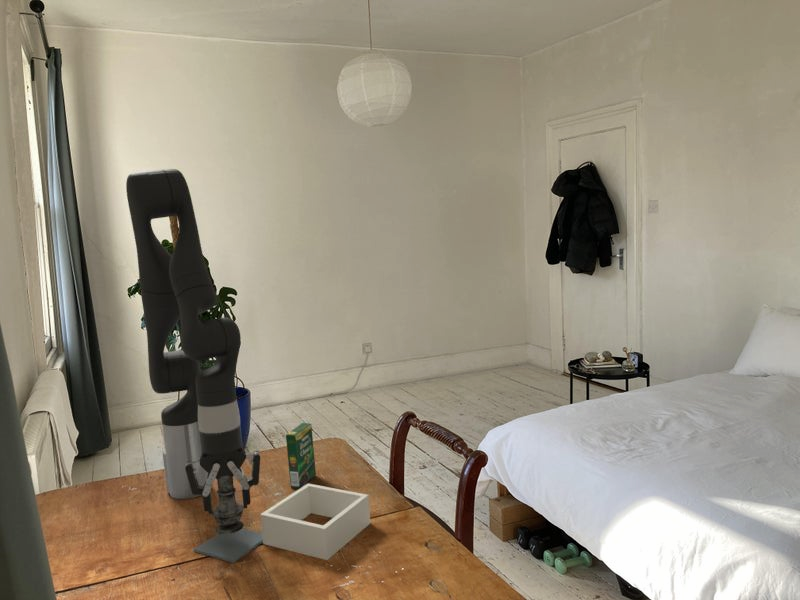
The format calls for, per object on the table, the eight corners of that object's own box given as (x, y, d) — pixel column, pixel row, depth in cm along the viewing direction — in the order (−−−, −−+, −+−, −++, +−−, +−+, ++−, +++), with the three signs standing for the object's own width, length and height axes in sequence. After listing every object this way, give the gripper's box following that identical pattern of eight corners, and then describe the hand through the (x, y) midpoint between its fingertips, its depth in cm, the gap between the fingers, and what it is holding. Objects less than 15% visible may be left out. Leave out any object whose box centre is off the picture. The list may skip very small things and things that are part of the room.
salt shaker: (237, 535, 120) (231, 474, 119) (208, 534, 122) (201, 473, 120) (250, 520, 126) (245, 462, 124) (222, 519, 127) (217, 461, 126)
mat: (194, 551, 123) (193, 549, 122) (231, 527, 131) (231, 525, 131) (233, 562, 118) (233, 560, 118) (269, 537, 126) (269, 534, 126)
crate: (263, 543, 124) (260, 514, 123) (310, 510, 137) (307, 483, 136) (327, 560, 117) (324, 529, 116) (370, 523, 130) (368, 494, 129)
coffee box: (300, 489, 148) (295, 434, 146) (289, 488, 149) (284, 433, 147) (317, 475, 155) (312, 422, 153) (306, 474, 156) (302, 422, 154)
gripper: (178, 436, 116) (188, 525, 118) (260, 425, 119) (267, 511, 122) (180, 424, 123) (189, 508, 125) (257, 413, 127) (265, 495, 129)
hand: (228, 509), depth 123 cm, fingers closed on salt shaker, 6 cm apart
